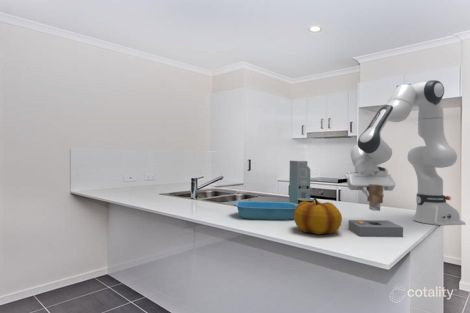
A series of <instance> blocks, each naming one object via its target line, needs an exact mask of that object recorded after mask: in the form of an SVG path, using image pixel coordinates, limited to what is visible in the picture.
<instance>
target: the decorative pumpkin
mask: <svg viewBox="0 0 470 313" xmlns="http://www.w3.org/2000/svg"><path fill="white" fill-rule="evenodd" d="M313 199H314V202H311V203H310V202H306V201H305V202H301V203H299V204H298V205H297V207H296V208H295V210H294V219H293V220H294V223H295V225H296V227H297V228H298V229H299V230H300V231H301V232H303V233H306V232H307V234H308V233H310V234H313V235H314V234H315V235H317V236H318V235H323V234H327V235H329V234H334V233H336V232H337V231H338V230H339V228H340V227H341V226H342V221H343V216H342V212H341V211H340V210H339V208H337V207H336V205H335V204H333V203H332V202H329V201H327V202H320V201H319V200H318V199H317V198H316V197H313Z"/></svg>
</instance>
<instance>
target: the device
mask: <svg viewBox="0 0 470 313" xmlns="http://www.w3.org/2000/svg"><path fill="white" fill-rule="evenodd" d="M288 180H289V183H288V184H289V186H288V189H289V191H288V196H289V197H288V198H289V199H288V202H289V203H294V204H298V199H299V198H308V199H311V167H310V166H308V160H289V179H288Z"/></svg>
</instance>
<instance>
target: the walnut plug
mask: <svg viewBox="0 0 470 313" xmlns="http://www.w3.org/2000/svg"><path fill="white" fill-rule="evenodd" d="M367 191H368V192H371V197H367V196H366V198H367V202H369V206H368V208H369V210H371V211H373V212H376V211H377V212H378V211H379V212H380V211H381V204H383V202H384V197H383V194H384V191H383V185H378V184H369V187H368V190H367Z"/></svg>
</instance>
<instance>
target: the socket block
mask: <svg viewBox="0 0 470 313" xmlns="http://www.w3.org/2000/svg"><path fill="white" fill-rule="evenodd" d="M348 230H350V231H352V232H353V233H354V234H356V235H357V236H359V237H370V238H371V237H373V238H374V237H376V238H377V237H381V238H382V237H383V238H385V237H387V238H389V237H390V238H404V226H401V225H398V224H396V223H394V222H392V221H389V220H376V219H374V220H372V219H371V220H369V219H368V220H367V219H366V220H363V219H357V220H356V219H349V220H348Z"/></svg>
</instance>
